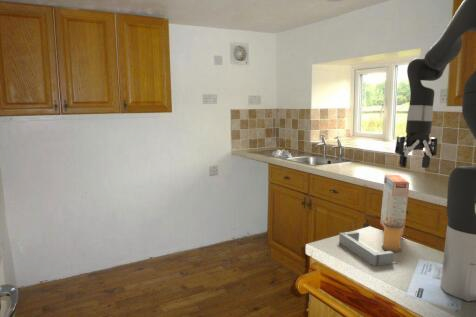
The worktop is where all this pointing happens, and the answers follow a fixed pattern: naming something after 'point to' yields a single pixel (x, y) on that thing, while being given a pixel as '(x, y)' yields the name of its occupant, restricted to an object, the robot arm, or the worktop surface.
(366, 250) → the duct tray
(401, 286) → the worktop surface
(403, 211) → the cracker box
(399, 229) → the orange cylinder
